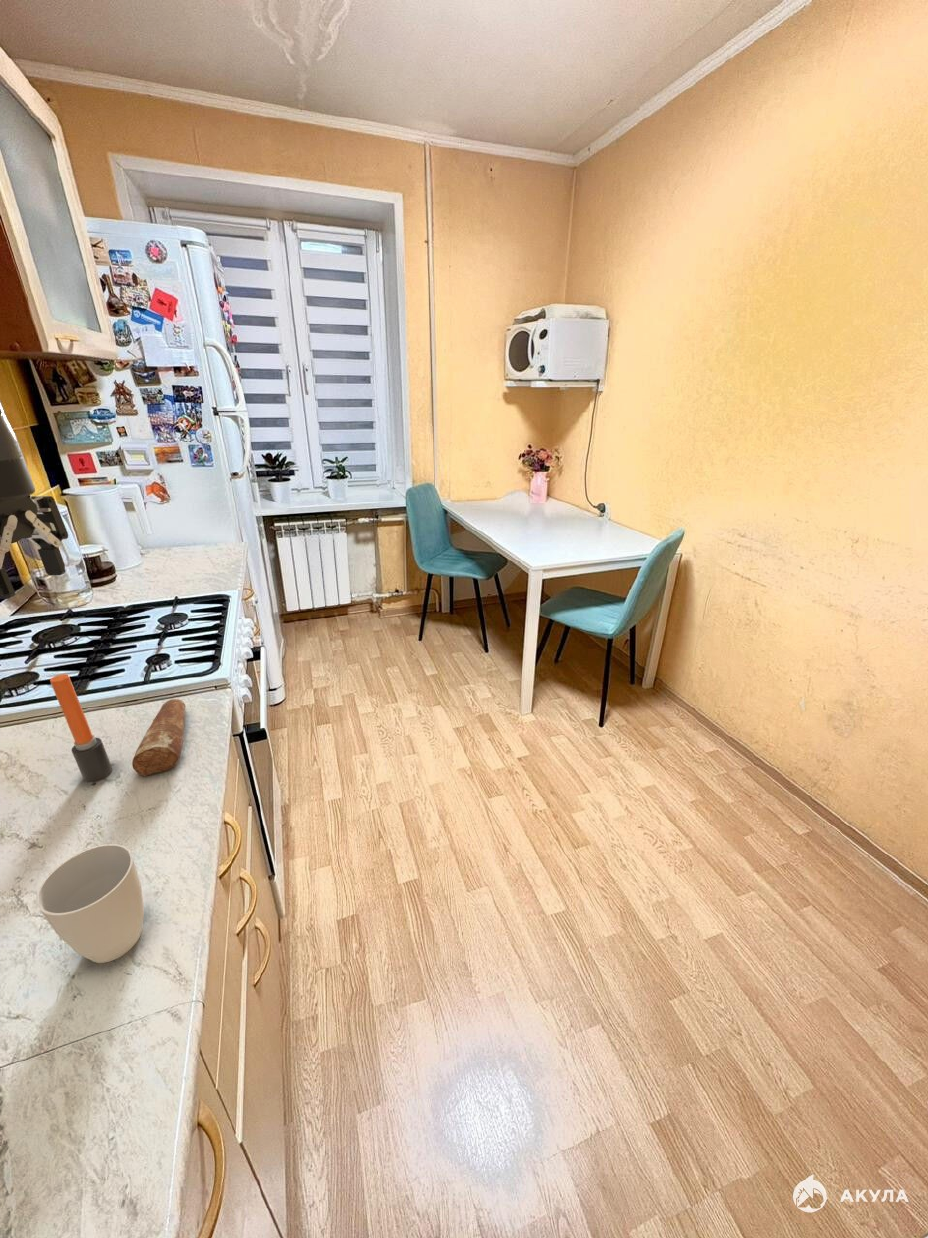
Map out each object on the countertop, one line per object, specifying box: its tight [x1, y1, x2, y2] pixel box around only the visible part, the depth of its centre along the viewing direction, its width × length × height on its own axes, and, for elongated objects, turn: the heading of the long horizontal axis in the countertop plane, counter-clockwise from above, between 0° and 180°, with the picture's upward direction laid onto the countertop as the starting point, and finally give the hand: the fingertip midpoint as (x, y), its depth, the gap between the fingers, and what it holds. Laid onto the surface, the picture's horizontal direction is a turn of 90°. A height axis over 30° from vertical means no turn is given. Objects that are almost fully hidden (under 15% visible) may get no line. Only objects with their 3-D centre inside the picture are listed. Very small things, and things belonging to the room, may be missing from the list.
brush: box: [49, 673, 113, 783], centre depth 75 cm, size 4×4×18 cm
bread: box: [131, 698, 186, 777], centre depth 85 cm, size 6×19×6 cm, turn 18°
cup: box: [35, 843, 145, 964], centre depth 53 cm, size 8×8×10 cm
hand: (32, 585), depth 65 cm, fingers open, 8 cm apart
